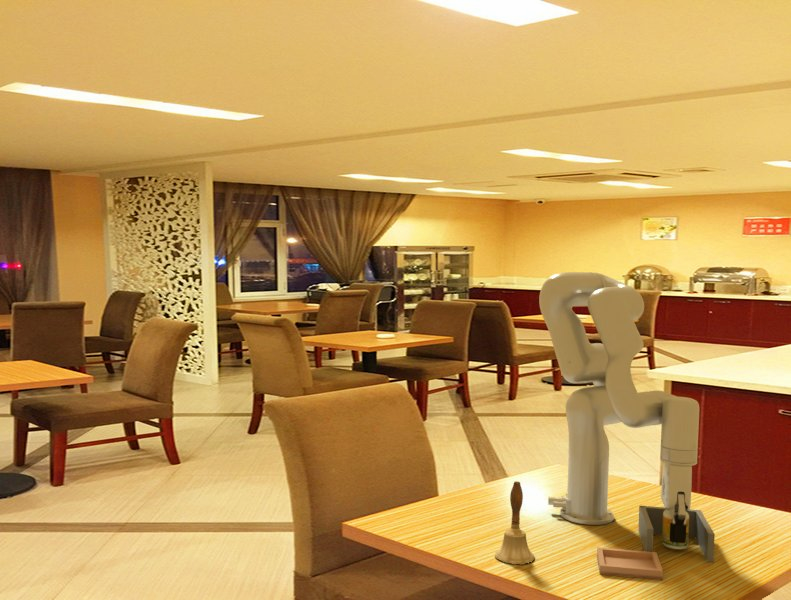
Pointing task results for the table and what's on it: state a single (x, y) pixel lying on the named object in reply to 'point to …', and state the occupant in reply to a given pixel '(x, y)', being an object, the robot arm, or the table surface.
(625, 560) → the tray
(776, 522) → the table surface
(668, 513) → the supplement bottle
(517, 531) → the hand bell
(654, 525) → the bay
